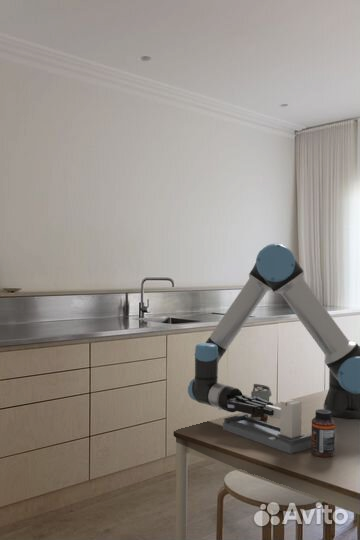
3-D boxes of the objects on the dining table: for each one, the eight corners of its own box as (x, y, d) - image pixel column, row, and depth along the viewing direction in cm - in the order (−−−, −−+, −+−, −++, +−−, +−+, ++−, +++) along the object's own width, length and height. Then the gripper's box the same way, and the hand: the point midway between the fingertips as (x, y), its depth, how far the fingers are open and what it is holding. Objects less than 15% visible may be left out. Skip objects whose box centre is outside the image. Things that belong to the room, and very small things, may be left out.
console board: (246, 423, 165) (246, 413, 165) (314, 446, 144) (314, 434, 144) (222, 429, 159) (223, 418, 159) (290, 453, 138) (290, 441, 138)
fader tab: (289, 434, 148) (289, 398, 148) (303, 438, 144) (304, 402, 144) (277, 437, 145) (278, 401, 145) (291, 442, 141) (292, 405, 141)
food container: (270, 425, 164) (271, 392, 164) (250, 423, 165) (251, 391, 165) (271, 414, 176) (272, 384, 176) (253, 413, 177) (253, 383, 177)
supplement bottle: (308, 450, 141) (308, 408, 141) (329, 449, 142) (330, 407, 142) (315, 458, 135) (315, 414, 135) (338, 457, 136) (338, 414, 136)
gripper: (240, 406, 169) (299, 424, 150) (210, 413, 161) (268, 432, 142) (241, 383, 169) (299, 398, 150) (210, 388, 161) (268, 404, 142)
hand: (284, 414), depth 146 cm, fingers closed
